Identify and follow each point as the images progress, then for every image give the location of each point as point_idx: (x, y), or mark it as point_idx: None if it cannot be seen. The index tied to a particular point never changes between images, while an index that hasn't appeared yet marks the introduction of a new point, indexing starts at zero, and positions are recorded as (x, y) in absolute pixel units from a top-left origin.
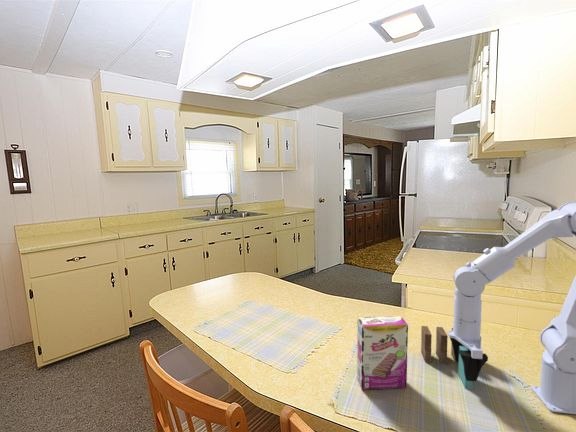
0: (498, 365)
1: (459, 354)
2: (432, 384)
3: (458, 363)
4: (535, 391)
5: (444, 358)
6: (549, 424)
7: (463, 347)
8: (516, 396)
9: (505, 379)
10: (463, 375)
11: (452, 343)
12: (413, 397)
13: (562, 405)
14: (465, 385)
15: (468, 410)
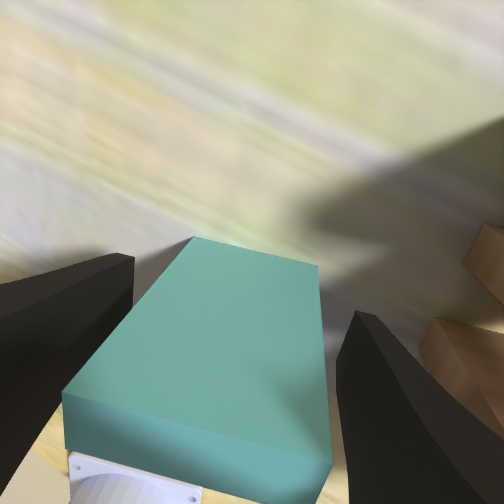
0: None
1: (308, 372)
2: (228, 26)
3: (433, 332)
4: (166, 482)
5: (492, 266)
6: None
7: (281, 480)
8: None
9: None
10: (210, 271)
11: (436, 428)
12: None
13: (72, 497)
14: (188, 245)
15: (8, 152)
